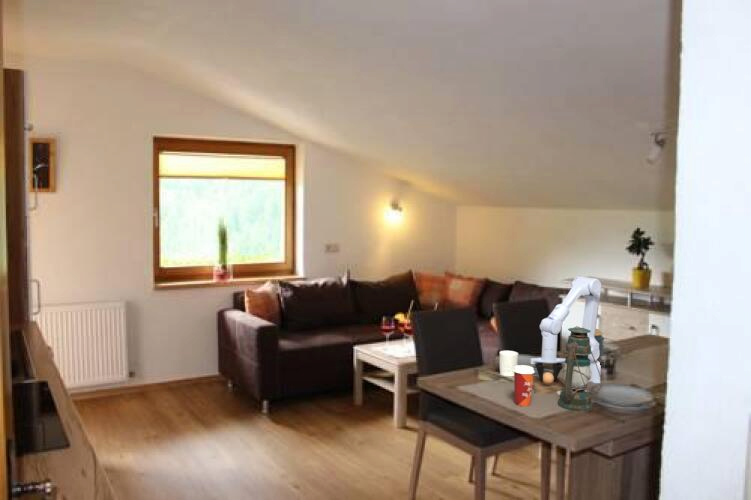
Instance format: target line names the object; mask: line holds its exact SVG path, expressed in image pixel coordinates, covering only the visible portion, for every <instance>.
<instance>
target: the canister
mask: <svg viewBox="0 0 751 500" xmlns="http://www.w3.org/2000/svg"><path fill="white" fill-rule="evenodd" d="M603 334H604V333H603V332H602V331H601V330H600V329H597V328H596V329H595V337H594V338H595V339H596V341H597V342H598V343H599V351H600V355H599V357H600V356H603V357H604V350H605V349H604V347H605V344H604V341H605V337H604V336H603Z"/></svg>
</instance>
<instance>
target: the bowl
mask: <svg viewBox="0 0 751 500" xmlns="http://www.w3.org/2000/svg"><path fill="white" fill-rule="evenodd" d="M533 369H534V371H535V372H534V374H533V377H539V374H538V371H537V368H536V367H533ZM546 372H549V373H551V374H552V375H553V369H549V368H544V371H543V374H544V373H546Z"/></svg>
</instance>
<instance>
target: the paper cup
mask: <svg viewBox="0 0 751 500" xmlns="http://www.w3.org/2000/svg"><path fill="white" fill-rule="evenodd" d="M533 368H534V367H533V366H531V365H525V364H524V365H523V364H521V365H519V364H517V366H515V368H514V370H513V371H514V376H513V377H514V379H513V382H514V405H516V406H518V405H520V406H519V407H522V406H527V407H530V406H531V400H532V392H533V391H532V390H533V389H532V384H533V374H534V372H535V371H534V369H533ZM529 405H530V406H529Z"/></svg>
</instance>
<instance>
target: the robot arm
mask: <svg viewBox="0 0 751 500" xmlns="http://www.w3.org/2000/svg"><path fill="white" fill-rule="evenodd" d="M601 293H602V283H601V281H600V280H599V279H598V278H594V277H593V278H592V277H588V276H582V275H577V276H575V277H574V279H573V280H572V282H571V288H570V290H569V291H568V293H567V294H566V296H565V298H564V299H563V301H562V303H558V304H557V305H556V306H554V309H553V310H552V311H551V312H550V313H549V315H548V316H547V317H545V318H543V319H542V320H541V322H540V324H539V330H540V331H541V336H542V338H541V339H542V340H541V341H542V342H541V343H542V344H541V356H540V357H531V358H529V359H530V360H529V364H531V365H534V366H535V368H537V371H538V374H539V380H540V382H543V371H544V369H545V366H544V365H552V371H553V376H554V382H556V380H557V377H558V376H559V374H560V372H561V370H562V369H563V365H565V362H564V361H565V360H566V358H561V357H560V358H559V357H557V353H558V334H559V333H560V332H561V330H562V326H563V322H564V321H565V319H566V318H567V317H568V316H569V314H570V308H571V307H572V306H573V305H574V304H575V303H576V301H578V299H579V298H581V296H583V298H584V300H585V303H584V312H583V318H582V325H581V328H585V329H588V330H590V331H591V332H590V333H587V335H588V336H587V337H589V338H590V345H591V351H592V354H593V356H594V359H595V361H596V364H597V367H598V369H597V367H596V364H595V361H594V359H593V356H592V354H590V355H588V359H590V363H591V365H590V370H591V372H592V376H591V379H590V381H588V382H592V383H593V384H601V379H600V376H601V375H602V374H601V372H602V371H601V370H602V369H601V368H602V364H601V365H600V362H599V361H598V360H597V359H598V358H599V355H600V351H599V343H598V342H597V341H596V339H595V338H594V337H595V329H597V328H596V327H597V321H598V314H599V306H600V301H601V300H600V299H601ZM598 370H599V372H600V376H599V372H598ZM590 375H591V373H590Z"/></svg>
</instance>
